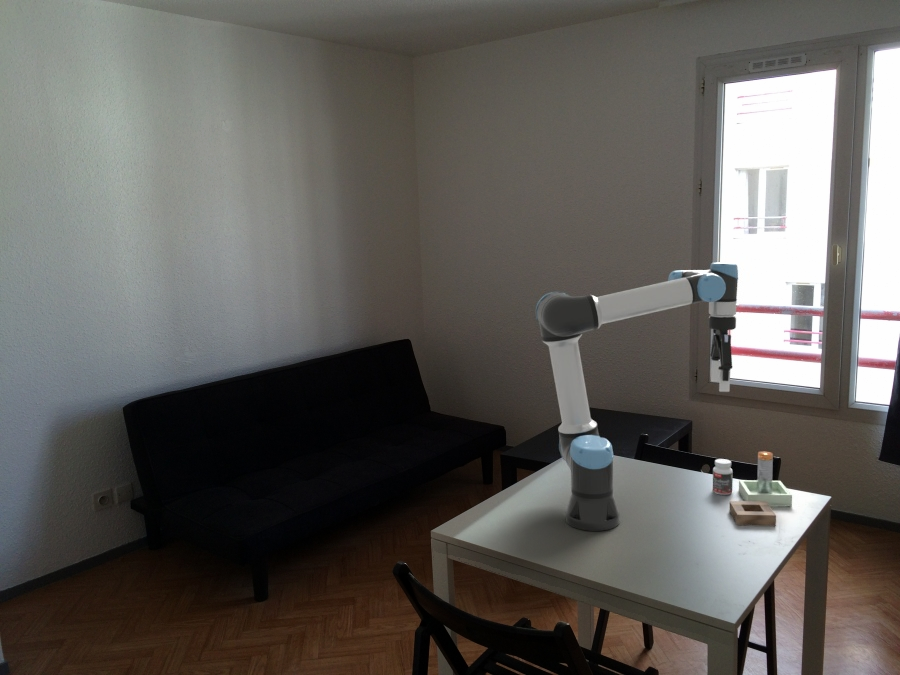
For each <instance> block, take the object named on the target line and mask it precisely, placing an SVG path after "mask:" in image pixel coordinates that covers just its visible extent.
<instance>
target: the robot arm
mask: <svg viewBox="0 0 900 675" xmlns="http://www.w3.org/2000/svg"><path fill="white" fill-rule="evenodd" d="M738 269H739V268H738V264H736V263H735V262H730V261H729V262H728V261H727V262H726V261H725V262H721V261H720V262H712V263H710V267H709V269H704V270H703V269H697V270H696V269H693V270H691V269H688V270H687V269H686V270H684V269H683V270H682V269H680V270H673V271H671V272H670V273H669V275H668V278H667V281H662V282H658V283H654V284H650V285H645V286H641V287H636V288H631V289H627V290H623V291H618V292H613V293H610V294H605V295H600V296H595V295H593V294H587V295H581V296H571V295H569V294H568V293H566V292H563V291H552V292H549V293H545V294H544V295H543V296H542V297H540V299H539V300H538V302H537V304H536V305H535V306H536V307H535V318H536V321H537V322H538V324H539V328H540V329H539V330H540V336H541V340H542V342H543V344H545V345H547V346H548V350H549V356H550V361H551V367H552V368H551V369H552V372H553V373H552V374H553V378H554V383H555V384H554V385H555V390H556V395H557V402H558V406H559V414H560V417H561V424H560V425H559V426H558V428H557V429H558V435H559V436H558V437H559V443H558V450H559V452H560V456H561V458H562V459H563V461H564V462H565V463H566V465H567V466H568V469H569V470H570V480H571V481H570V483H571V484H570V485H571V487H570V488H571V492H570V493H571V495H570V497H569V500H568V503H567V504H568V505H567V507H566V510H565V522H566V523H567V524H568V525H569V526H571V527H573V528H574V529H579V530H582V531H589V532H600V531H607V530H612V529H614V528H615V527H617V526H619V524H620V523H621V517H620V516H621V515H620V511H619V508H618V505H617V501H616V499H615V496H614V451H613V445H612V443H611V442H610V441H609V440H608V439H607V438H605V437H601V436H600V433H599V429H598V423H597V421H595V420H593V419H592V417H591V410H590V406H589V401H588V399H589V398H588V395H587V388H586V382H585V377H584V371H583V364H582V359H581V353H580V346H579V339H581V337H582V336H583V333H586V332H590V331H594V330H598V329H600V327H601V326H602V325H603V324H608V323H612V322H613V323H614V322H618V321H621V320H625V319H629V318H630V319H631V318H634V317H639V316H643V315H648V314H653V313H656V312H662V311H666V310H671V309H674V308H679V307H683V306H687V305H692V304H698V303H702V302H706V303H708V314H710V315H709V317H708V329H710V330H712V332H713V333H712V341H711V348H710V355H709V356H710V359H711V366H710V369H711V370H710V382H711V383H712V382H713V383H714V382H715V383H719V384H718V391H719V392H720V393H721V392H722V393H729V392H730V391H731V390H730V387H731V369H733V357H732V356H733V355H732V341H731V340H732V335H731V334H729V331H732V330H735V329H736V327H737V317H736V316H735V315H737V308H739V303H737V300H738V298H737V296H738V282H739V281H738V280H739V270H738Z"/></svg>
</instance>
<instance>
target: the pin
mask: <svg viewBox="0 0 900 675" xmlns="http://www.w3.org/2000/svg"><path fill="white" fill-rule="evenodd" d="M773 456H774V454H773V452H770V451H758V452H757V480H758V483H757V493H761V494H772V481H773V467H774V466H773V462H774V459H773Z"/></svg>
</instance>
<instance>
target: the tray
mask: <svg viewBox="0 0 900 675" xmlns="http://www.w3.org/2000/svg"><path fill="white" fill-rule="evenodd" d="M757 483H758V479H756V480H755V479H754V480H747V479H739V480H738V492H739V494H740V495H741V497H742V498H743V501H761V502H767V503H768V505H769V506H770V507H778V506H790V507H789V508H791V507H792V506H793V494H792V493H791V492H790V491H789V490H788V488H787V486H785V485H784V484H783V482H782V481H781V480H772V494H761V493H757Z"/></svg>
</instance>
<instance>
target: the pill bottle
mask: <svg viewBox="0 0 900 675" xmlns="http://www.w3.org/2000/svg"><path fill="white" fill-rule="evenodd" d="M714 465H715V466H714V467H713V468H712V492H713V493H714V494H716V495H720V496H728V495H731V494H732V493H733V477H734V476H733V473H734V472H733V469H732V468H731V467H732V461H731V460H729V459H727V458H726V459H724V458H718V459H715V460H714Z"/></svg>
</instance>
